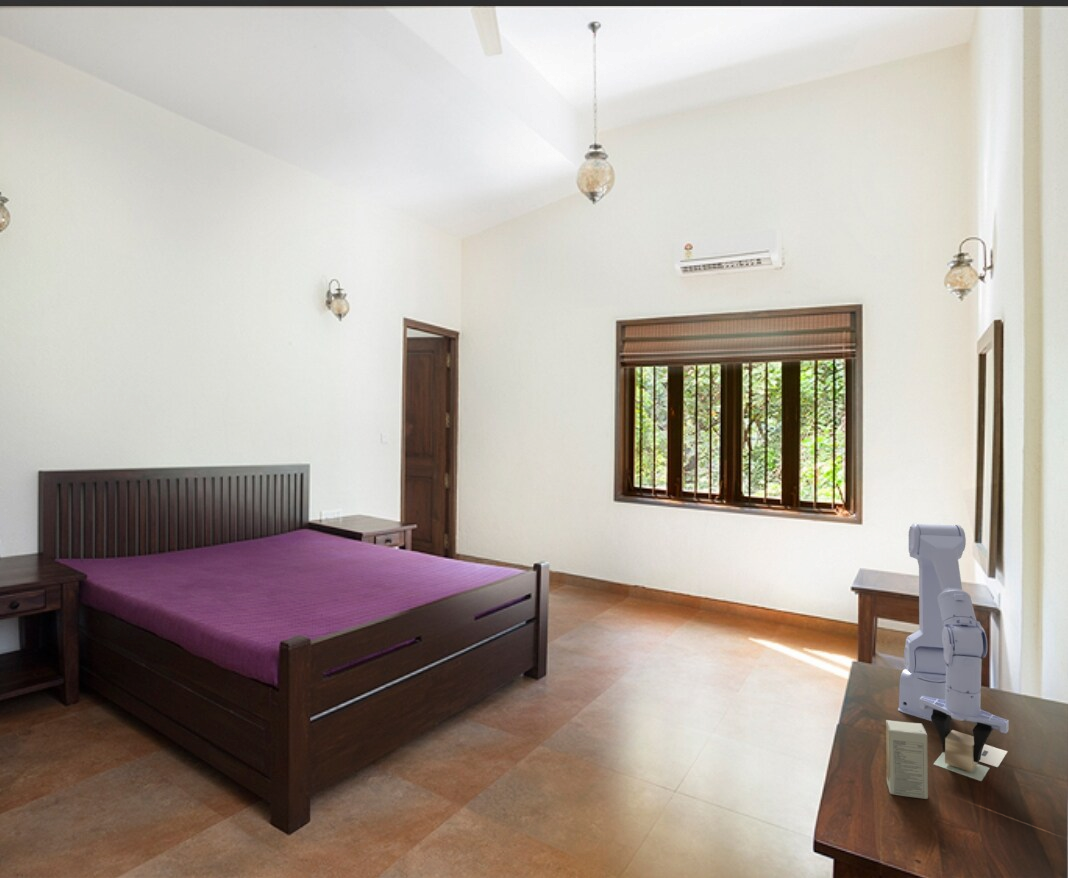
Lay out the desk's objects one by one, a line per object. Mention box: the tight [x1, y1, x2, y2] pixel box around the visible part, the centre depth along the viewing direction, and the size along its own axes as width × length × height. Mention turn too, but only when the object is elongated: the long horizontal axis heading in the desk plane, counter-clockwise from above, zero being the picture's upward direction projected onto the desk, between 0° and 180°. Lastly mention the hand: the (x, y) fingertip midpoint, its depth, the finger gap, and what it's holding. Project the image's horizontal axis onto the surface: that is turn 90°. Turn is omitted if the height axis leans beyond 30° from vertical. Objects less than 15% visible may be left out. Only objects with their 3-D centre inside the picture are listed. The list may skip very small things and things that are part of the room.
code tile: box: [979, 743, 1008, 768], centre depth 133 cm, size 8×8×1 cm
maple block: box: [944, 729, 979, 772], centre depth 128 cm, size 4×4×5 cm
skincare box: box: [885, 719, 929, 800], centre depth 121 cm, size 6×4×12 cm
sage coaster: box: [933, 751, 991, 782], centre depth 128 cm, size 8×6×1 cm
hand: (961, 755), depth 128 cm, fingers closed on maple block, 4 cm apart
